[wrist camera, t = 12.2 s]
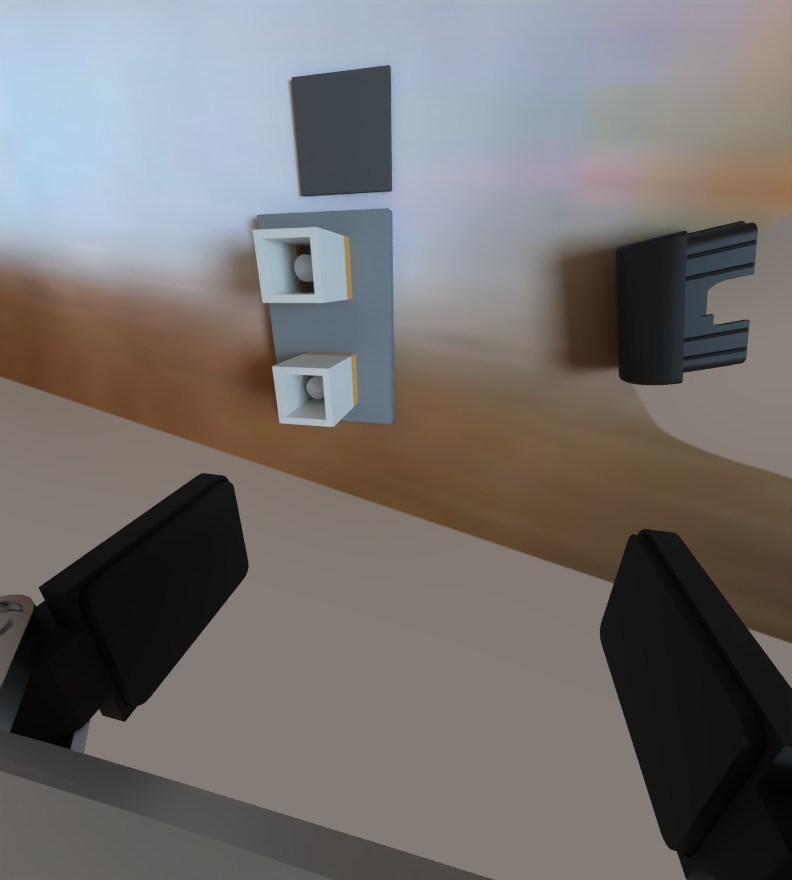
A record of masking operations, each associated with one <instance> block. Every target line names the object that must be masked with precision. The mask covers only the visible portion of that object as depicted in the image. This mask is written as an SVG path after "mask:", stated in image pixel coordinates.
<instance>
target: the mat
mask: <svg viewBox="0 0 792 880" xmlns="http://www.w3.org/2000/svg"><path fill="white" fill-rule="evenodd" d="M292 86H293V97H294V108H295V119H296V131H297V142H298V153H299V164H300V175H301V186H302V195H303V196H316V195H333V194H350V193H368V192H385V191H392V153H391V68H390V65H387V66H379V67H371V68H363V69H355V70H347V71H339V72H331V73H323V74H316V75H308V76H300V77H292Z"/></svg>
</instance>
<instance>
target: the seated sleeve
mask: <svg viewBox="0 0 792 880" xmlns="http://www.w3.org/2000/svg"><path fill="white" fill-rule="evenodd" d="M253 237H254V244H255V252H256V259H257V266H258V273H259V281H260V288H261V295H262V302H263V303H327V302H334V301H341V300H348V299H352V282H351V262H350V243H349V237H347V236H344V235H340V234H337V233H334V232H331V231H328V230H325V229H321V228H318V227H307V228H282V229H257V230H253ZM303 246H311V257H312V269H313V280H314V292H307V285H306V281H302V280H301V279H299V278H298V277H297V275H296V273H295V270H294V264H295V261H296V259H297V258H298V257H299V256H300V255H303V254H304V253H303Z"/></svg>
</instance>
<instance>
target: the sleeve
mask: <svg viewBox="0 0 792 880" xmlns="http://www.w3.org/2000/svg"><path fill="white" fill-rule="evenodd" d="M272 370H273V377H274V384H275V392H276V399H277V407H278V414H279V421H280V423H286V424H300V425H313V426H327V427H334V426H335V425H336V424H337V423H338V422H339V421H340V420H341V419H342V418H343V417H344V416H345V415H346V414H347V413H348V412H349V411H350V410H351V409H352V408H353V407H354V406H355V405H356V404H357V403H358V390H357V370H356V353H327V352H306V353H304V354H301V355H299V356H296V357H294V358H292V359H289V360H287V361H284V362H282V363H279V364H277V365H274V366H272ZM315 375H316V376H323V388H324V397H323V398H321V399H316V398H313V397H312V396H310V394H309V393H308V391H307V383H308V381H309V380H310V379H311V378H313V377H315Z"/></svg>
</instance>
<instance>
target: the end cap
mask: <svg viewBox="0 0 792 880" xmlns="http://www.w3.org/2000/svg"><path fill="white" fill-rule="evenodd" d="M757 233H758V229H757V226H756V224H755V223H748V224H746V223H745V222H743V221H739V222H735V223H731V224H727V225H722V226H717V227H713V228H709V229H705V230H701V231H696V232H692V233H688V234H687V232H686V231H682V232H678V233H673V234H669V235H665V236H661V237H657V238H653V239H649V240H645V241H641V242H636V243H632V244H628V245H624V246H621V247H619V248H617V250H616V282H617V320H618V358H619V377H620V378H621V380H623V381H625V382H628V383H632V384H640V385H668V384H678V383H682V380H683V373H684V372H690V371H697V370H704V369H710V368H716V367H722V366H730V365H734V364H741V363H743V362H744V361H745V360H746V354H747V343H748V333H749V322H750V320H740V321H735V322H730V323H724V324H717V325H713V318H714V315H713V314H709V315H706V309H707V291H708V290H709V289H710V288H711V287H712V286H714V285H715V284H717V283H719V282H721V281H724V280H728V279H733V278H737V277H742V276H746V275H752V274H754V266H755V255H756V244H757Z"/></svg>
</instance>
